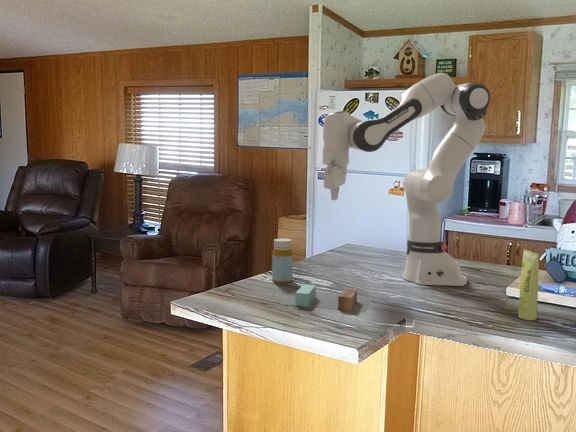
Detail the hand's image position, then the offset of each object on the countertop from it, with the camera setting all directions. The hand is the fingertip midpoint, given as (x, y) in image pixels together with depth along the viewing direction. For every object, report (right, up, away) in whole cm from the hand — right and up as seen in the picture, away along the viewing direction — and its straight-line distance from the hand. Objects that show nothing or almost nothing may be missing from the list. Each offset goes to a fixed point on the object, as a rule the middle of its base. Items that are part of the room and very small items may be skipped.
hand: (334, 199), depth 199 cm
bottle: (-18, -29, +4) cm, 34 cm away
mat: (-4, -32, -20) cm, 38 cm away
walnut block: (+3, -30, -20) cm, 36 cm away
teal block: (-9, -29, -16) cm, 35 cm away
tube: (+52, -35, -33) cm, 71 cm away
